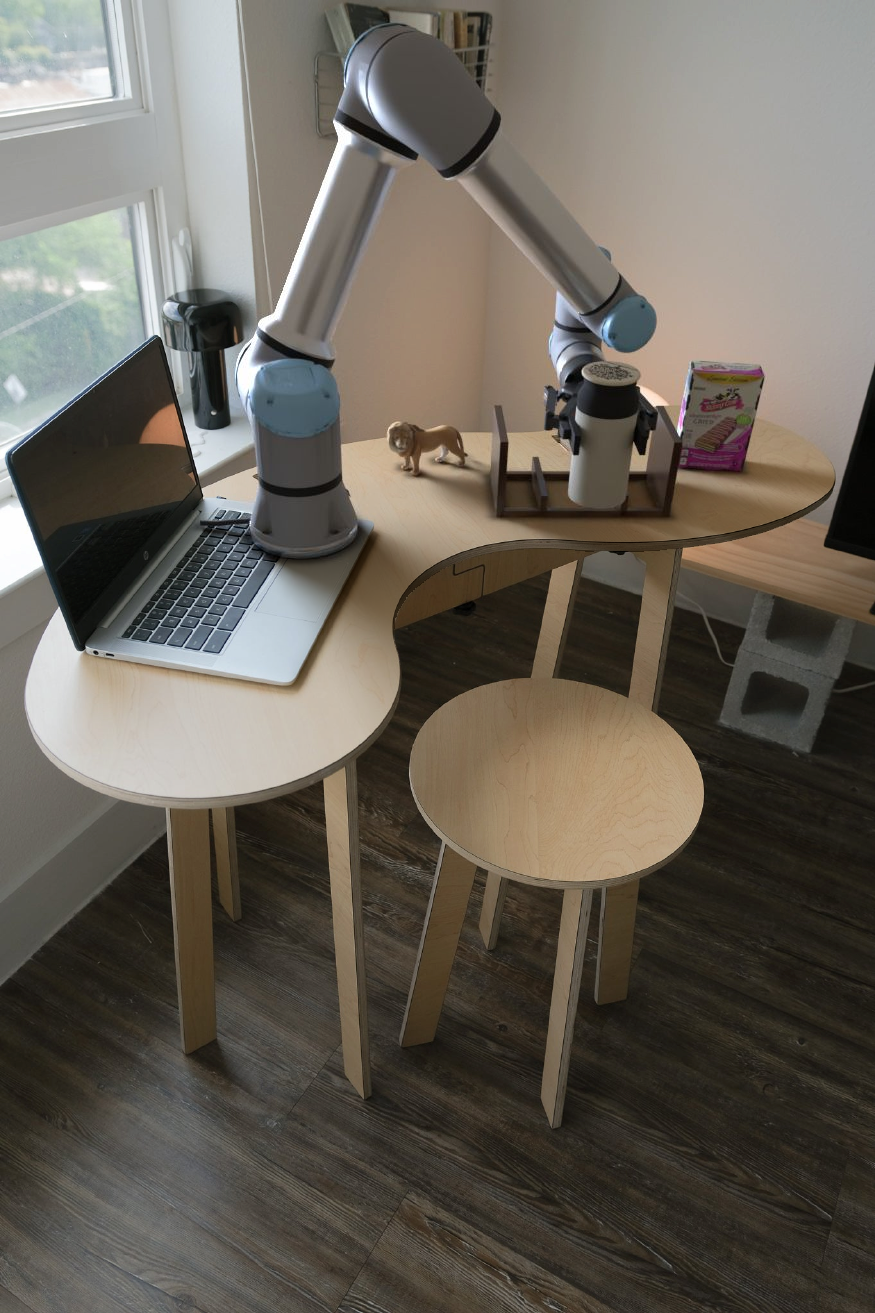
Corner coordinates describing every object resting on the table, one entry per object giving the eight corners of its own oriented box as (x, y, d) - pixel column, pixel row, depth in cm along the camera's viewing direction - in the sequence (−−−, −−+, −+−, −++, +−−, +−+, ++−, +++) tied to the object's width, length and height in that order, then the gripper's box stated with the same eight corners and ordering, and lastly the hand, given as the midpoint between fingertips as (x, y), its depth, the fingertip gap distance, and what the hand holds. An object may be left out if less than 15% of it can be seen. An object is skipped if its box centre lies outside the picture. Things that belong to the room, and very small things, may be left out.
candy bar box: (674, 469, 162) (691, 370, 152) (671, 455, 166) (688, 359, 156) (744, 473, 161) (766, 374, 151) (740, 459, 165) (761, 362, 155)
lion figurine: (396, 485, 156) (396, 431, 151) (380, 471, 160) (379, 418, 154) (475, 464, 162) (478, 411, 157) (458, 451, 166) (459, 400, 161)
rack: (496, 516, 149) (500, 441, 141) (490, 476, 159) (493, 404, 152) (669, 516, 149) (682, 442, 142) (652, 476, 160) (663, 405, 152)
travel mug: (599, 517, 134) (615, 388, 123) (555, 495, 139) (567, 370, 128) (637, 498, 138) (655, 372, 128) (593, 478, 143) (607, 355, 132)
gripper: (651, 402, 149) (685, 471, 131) (513, 402, 149) (528, 472, 131) (658, 353, 145) (695, 418, 127) (515, 353, 144) (531, 418, 126)
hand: (610, 445), depth 129 cm, fingers closed on travel mug, 8 cm apart
